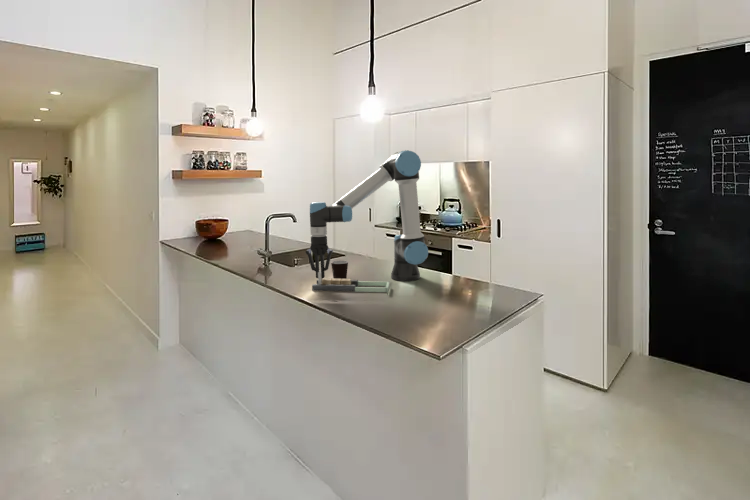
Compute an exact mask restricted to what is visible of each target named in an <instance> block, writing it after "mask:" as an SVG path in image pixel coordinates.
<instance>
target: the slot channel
mask: <svg viewBox="0 0 750 500" xmlns="http://www.w3.org/2000/svg"><path fill="white" fill-rule="evenodd" d="M358 281H359V279H351V285H340V284H318V278H316V283H313V284H312V285H311V290H312V291H313V292H314V291H317V292H320V291H321V292H323V291H324V292H327V291H329V292H355V287H359V285H358Z"/></svg>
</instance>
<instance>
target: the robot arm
mask: <svg viewBox="0 0 750 500" xmlns="http://www.w3.org/2000/svg"><path fill="white" fill-rule="evenodd" d="M421 167H422V161H421V158H420V156H419V155H418V154H417V153H416V152H414V151H412V150H406V149H405V150H401V151H396V152H395V153H393V154H392V155H391V156H390V157H388V158H387V159H386V160H385V161H384V162H383V163H381V164H380V165H379V168H378V169H377V170H376V171H375V172H373V173H372V174H370V176H367V178H366V179H364V180H363V181H362V182H360V183H359V184H358V185H356V186H355V187H353V188H352V189H351V190H350V191H349V192H347V193H346V194H345V195H343V196H342V197H341V198H340V199H338V200H337V201H336V202H334V203H331V204H330V205H327V204H326V202H325V201H313V202H311V203H310V204H309V223H310V225H309V226H310V228H309V229H310V230H309V231H310V235H311V236H310V247H309V249H306V251H305V254H306V255H307V257H308V261H309V265H310V269H311V270H312V271H314V272H315V278H316V279H318V284H322V280H323V279H324V278H326V276H325V272H326V271H328V270H329V267H330V263H331V257H332V254H333V252H334V249H330V248H329V245H328V236H327V235H328V231H327V230H328V228H327V225H328V224H327V223H348V222H349V223H350V222H351V221H352V220H353V209H354V208H355V207H357V206H358V205H359V204H361V202H363V201H365V199H367V198H368V197H370V196H371V195H373V194H374V193H375V192H376V191H377V190H379V189H380V188H381V187H383V186H384V185H385V184H387V183H388V182H392V181H394V182H395V183H396V184H398V193H399V206H400V215H401V224H402V225H401V226H402V234H396V235H395V236H394V239H393V243H394V247H393V248H394V251H393V252H394V255H393V257H394V258H393V260H394V263H393V266H392V270H391V272H390V278H391V279H392V280H395V281H398V282H399V281H401V282H402V281H404V282H411V281H417V280H420V278H421V273H420V270H419V267H418V265H420V264H422V263H424V262H425V261H426V260H427V258H428V256H429V248H428V246H427V244H426V241H425V235H424V234H423V232H422V231H421V230H422V229H421V223H420V222H421V220H420V208H419V198H418V197H419V196H418V185H417V182H418V181H419V180H420V170H421ZM312 253H313V255H314V258H313V255H312ZM326 253H327V256H326V261H325V254H326ZM314 261H315V262H314Z"/></svg>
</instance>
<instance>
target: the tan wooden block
mask: <svg viewBox="0 0 750 500" xmlns="http://www.w3.org/2000/svg"><path fill="white" fill-rule="evenodd" d="M341 280H342V279H339V278H333V277H332V284H340V285H341Z"/></svg>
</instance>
